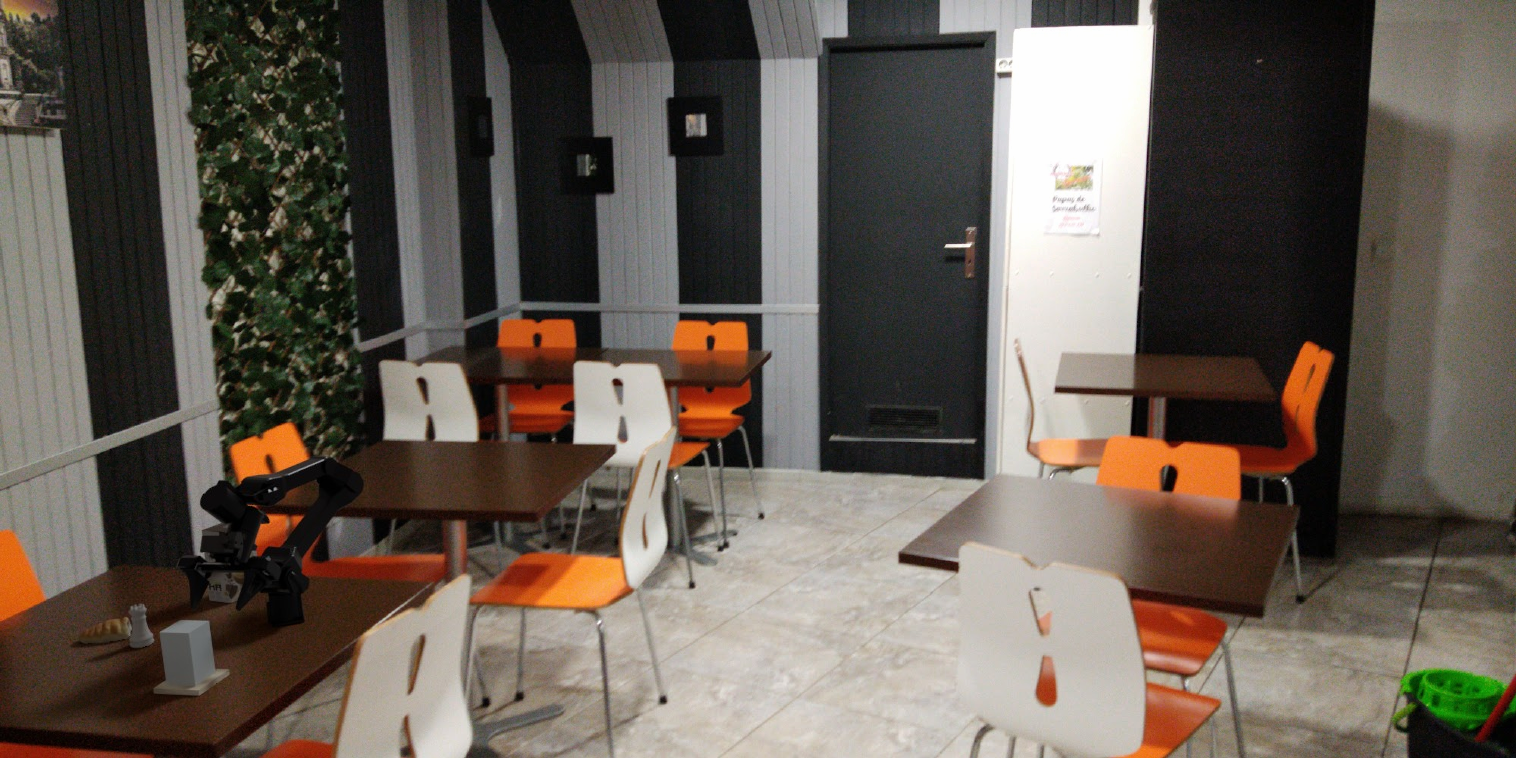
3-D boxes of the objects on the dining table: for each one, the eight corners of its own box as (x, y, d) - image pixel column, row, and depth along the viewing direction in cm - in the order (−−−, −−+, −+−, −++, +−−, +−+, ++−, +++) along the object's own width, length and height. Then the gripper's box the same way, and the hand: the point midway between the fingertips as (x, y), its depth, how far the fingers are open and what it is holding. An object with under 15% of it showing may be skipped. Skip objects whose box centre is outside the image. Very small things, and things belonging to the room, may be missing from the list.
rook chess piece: (144, 649, 238) (139, 610, 236) (124, 648, 238) (119, 609, 237) (159, 640, 242) (154, 602, 240) (140, 639, 243) (134, 601, 241)
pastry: (78, 649, 240) (75, 631, 239) (81, 638, 246) (78, 620, 245) (131, 639, 243) (128, 621, 243) (132, 629, 249) (130, 611, 249)
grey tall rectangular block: (187, 671, 223) (180, 619, 222) (215, 672, 222) (208, 620, 220) (166, 684, 218) (159, 632, 216) (195, 686, 217) (188, 633, 215)
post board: (186, 672, 225) (182, 649, 225) (229, 674, 224) (226, 651, 223) (154, 693, 217) (150, 669, 216) (199, 695, 215) (196, 671, 214)
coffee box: (232, 603, 261) (223, 531, 258) (208, 601, 263) (199, 529, 261) (262, 589, 270) (254, 519, 267) (239, 587, 272) (231, 517, 269)
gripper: (175, 515, 232) (146, 591, 223) (265, 515, 229) (239, 592, 220) (205, 541, 241) (178, 615, 232) (292, 542, 238) (268, 617, 229)
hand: (214, 609), depth 228 cm, fingers open, 9 cm apart
